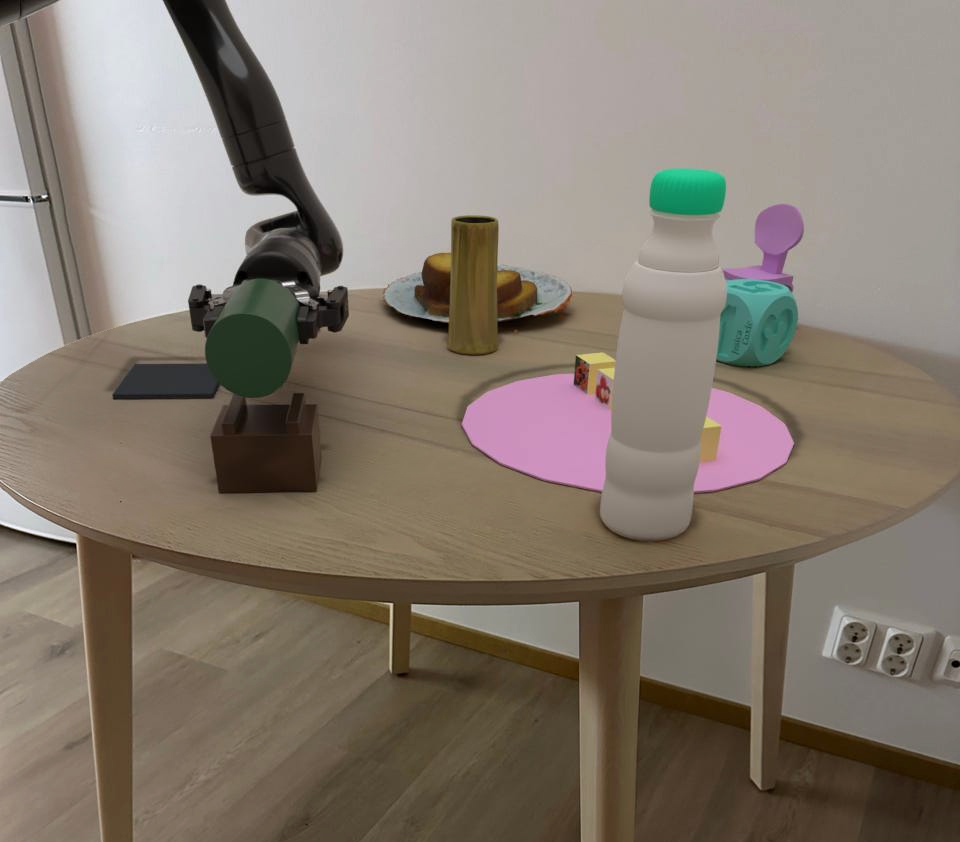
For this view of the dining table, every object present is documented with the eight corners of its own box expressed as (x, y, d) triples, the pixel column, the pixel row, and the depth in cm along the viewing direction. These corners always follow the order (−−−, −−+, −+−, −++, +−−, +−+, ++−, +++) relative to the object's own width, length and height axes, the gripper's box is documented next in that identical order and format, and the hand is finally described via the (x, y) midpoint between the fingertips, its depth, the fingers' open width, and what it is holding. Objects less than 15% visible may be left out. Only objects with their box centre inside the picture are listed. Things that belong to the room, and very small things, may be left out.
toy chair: (700, 327, 120) (719, 201, 112) (754, 321, 123) (777, 198, 115) (740, 345, 114) (764, 213, 105) (796, 338, 117) (823, 209, 109)
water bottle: (580, 520, 73) (611, 168, 59) (640, 496, 77) (682, 161, 63) (647, 553, 69) (698, 182, 55) (707, 527, 72) (769, 174, 58)
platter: (680, 362, 108) (684, 333, 106) (867, 467, 83) (877, 431, 81) (419, 390, 98) (418, 358, 96) (543, 518, 73) (546, 478, 71)
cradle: (218, 493, 76) (208, 423, 72) (230, 459, 82) (221, 393, 78) (316, 491, 76) (310, 422, 73) (321, 458, 82) (316, 392, 79)
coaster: (113, 399, 94) (112, 394, 93) (135, 368, 102) (134, 363, 102) (213, 398, 95) (212, 393, 94) (227, 367, 103) (226, 363, 102)
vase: (506, 345, 112) (510, 217, 104) (485, 358, 107) (488, 226, 99) (460, 337, 114) (462, 212, 106) (438, 350, 109) (438, 220, 101)
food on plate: (606, 320, 122) (611, 268, 118) (439, 345, 111) (439, 289, 108) (506, 279, 140) (508, 232, 136) (355, 297, 130) (352, 247, 126)
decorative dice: (694, 353, 111) (704, 284, 106) (737, 343, 115) (749, 275, 110) (747, 371, 105) (760, 299, 101) (790, 359, 109) (805, 289, 105)
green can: (210, 398, 71) (198, 312, 67) (231, 355, 80) (221, 277, 76) (295, 398, 71) (287, 313, 68) (305, 355, 80) (299, 278, 77)
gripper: (197, 240, 86) (160, 282, 72) (352, 242, 87) (346, 284, 73) (208, 322, 90) (175, 377, 76) (356, 323, 91) (350, 377, 77)
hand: (259, 331), depth 75 cm, fingers closed on green can, 6 cm apart
